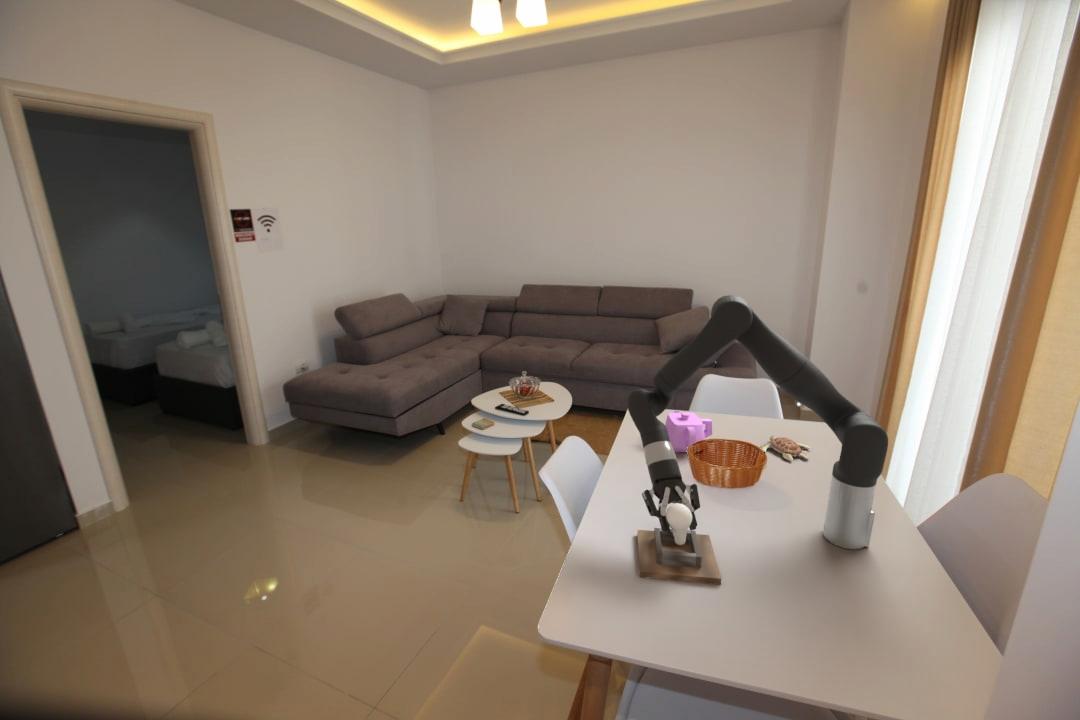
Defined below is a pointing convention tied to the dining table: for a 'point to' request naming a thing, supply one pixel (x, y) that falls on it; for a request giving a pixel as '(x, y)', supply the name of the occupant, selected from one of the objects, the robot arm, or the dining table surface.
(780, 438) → the decorative turtle
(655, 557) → the bulb holder
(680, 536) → the lightbulb
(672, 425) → the teakettle
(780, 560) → the dining table surface
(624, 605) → the dining table surface
